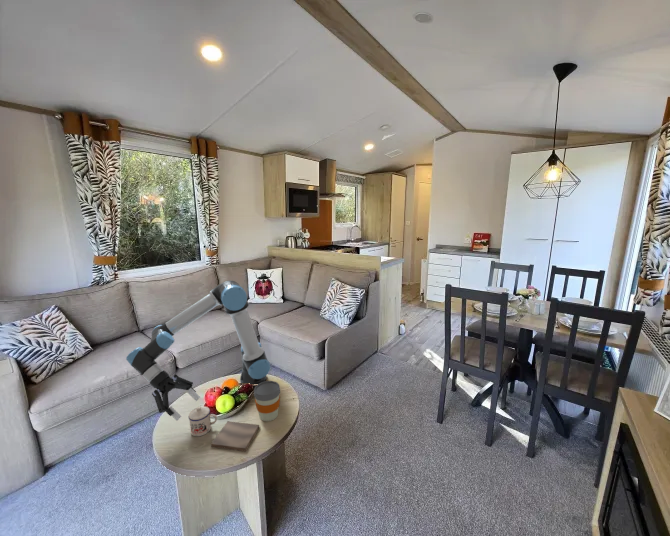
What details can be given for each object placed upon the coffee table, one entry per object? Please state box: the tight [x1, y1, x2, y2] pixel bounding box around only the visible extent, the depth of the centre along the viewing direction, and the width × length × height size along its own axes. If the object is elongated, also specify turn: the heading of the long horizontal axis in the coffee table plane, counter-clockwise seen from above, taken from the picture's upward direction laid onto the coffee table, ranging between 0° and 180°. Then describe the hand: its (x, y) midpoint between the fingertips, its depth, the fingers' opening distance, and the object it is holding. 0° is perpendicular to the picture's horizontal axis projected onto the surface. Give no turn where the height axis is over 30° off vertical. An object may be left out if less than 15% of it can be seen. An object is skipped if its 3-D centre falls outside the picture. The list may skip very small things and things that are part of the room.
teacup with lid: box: [188, 406, 218, 437], centre depth 137 cm, size 12×9×12 cm
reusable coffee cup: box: [253, 380, 281, 422], centre depth 146 cm, size 12×13×15 cm
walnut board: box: [210, 420, 260, 452], centre depth 134 cm, size 14×16×2 cm
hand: (189, 408), depth 137 cm, fingers open, 13 cm apart
